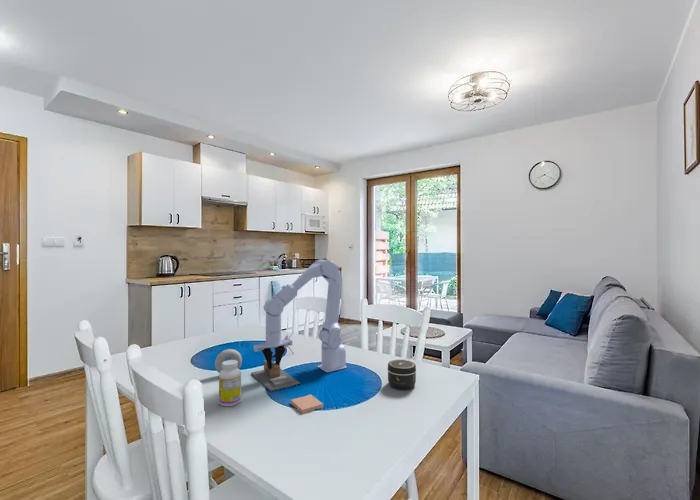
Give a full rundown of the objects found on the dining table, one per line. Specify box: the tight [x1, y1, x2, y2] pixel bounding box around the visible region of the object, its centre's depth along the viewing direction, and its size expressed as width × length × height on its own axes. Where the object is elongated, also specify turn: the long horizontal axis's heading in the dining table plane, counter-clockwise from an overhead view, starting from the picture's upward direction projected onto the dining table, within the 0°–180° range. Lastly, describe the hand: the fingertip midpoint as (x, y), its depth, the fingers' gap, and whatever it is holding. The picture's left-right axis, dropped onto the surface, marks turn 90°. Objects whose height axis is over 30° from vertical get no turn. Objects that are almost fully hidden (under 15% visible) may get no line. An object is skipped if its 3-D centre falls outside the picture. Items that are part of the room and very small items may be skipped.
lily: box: [273, 332, 295, 355], centre depth 159 cm, size 12×12×10 cm
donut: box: [214, 348, 243, 374], centre depth 133 cm, size 10×4×10 cm, turn 119°
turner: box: [263, 359, 291, 387], centre depth 128 cm, size 16×6×4 cm, turn 35°
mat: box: [251, 368, 301, 392], centre depth 129 cm, size 11×20×1 cm, turn 34°
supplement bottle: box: [218, 359, 242, 407], centre depth 110 cm, size 7×7×13 cm
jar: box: [387, 359, 417, 391], centre depth 123 cm, size 10×10×8 cm
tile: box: [290, 394, 324, 415], centre depth 107 cm, size 7×2×8 cm
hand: (273, 367), depth 129 cm, fingers open, 2 cm apart
